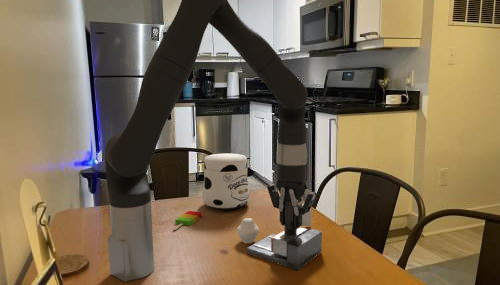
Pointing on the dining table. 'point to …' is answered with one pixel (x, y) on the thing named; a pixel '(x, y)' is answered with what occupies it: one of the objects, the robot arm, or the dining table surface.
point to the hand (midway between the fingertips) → (290, 226)
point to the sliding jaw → (286, 232)
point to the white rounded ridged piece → (247, 230)
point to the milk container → (225, 181)
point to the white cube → (306, 219)
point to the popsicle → (187, 219)
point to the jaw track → (291, 249)
